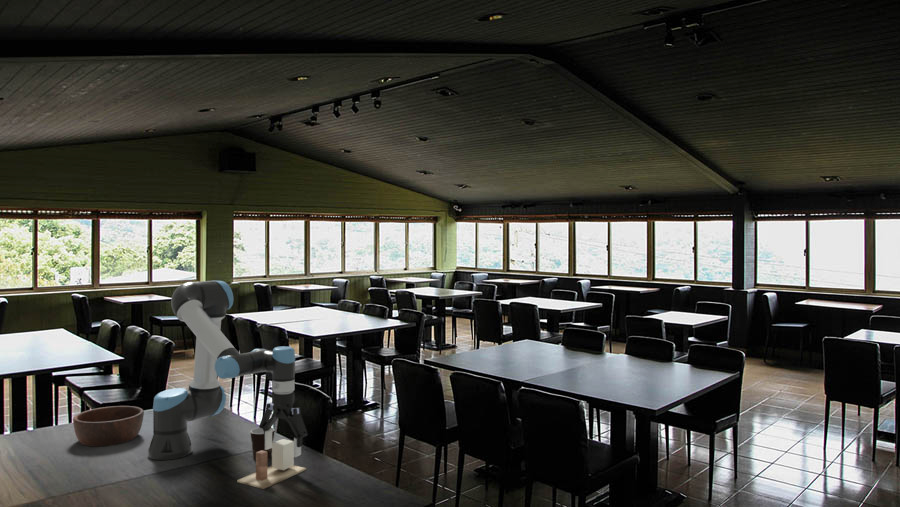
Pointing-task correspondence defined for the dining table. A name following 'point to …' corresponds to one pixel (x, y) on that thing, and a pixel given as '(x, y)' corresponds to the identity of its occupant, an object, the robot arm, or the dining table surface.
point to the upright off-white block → (282, 454)
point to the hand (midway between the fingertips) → (282, 452)
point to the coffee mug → (260, 441)
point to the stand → (268, 473)
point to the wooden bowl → (108, 425)
